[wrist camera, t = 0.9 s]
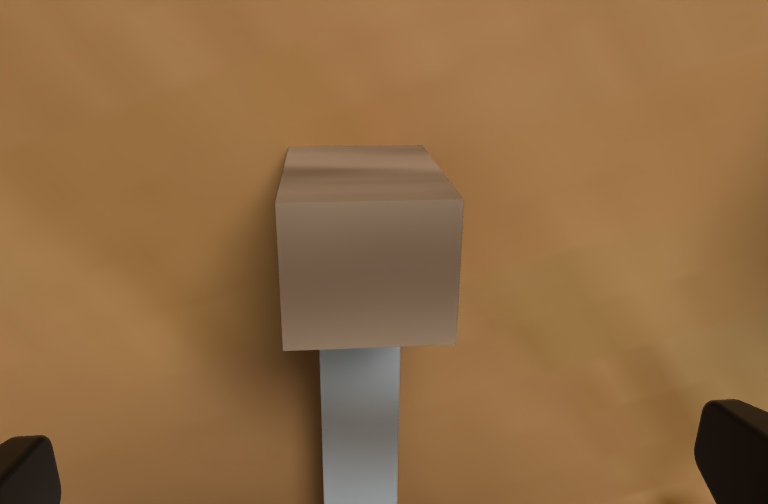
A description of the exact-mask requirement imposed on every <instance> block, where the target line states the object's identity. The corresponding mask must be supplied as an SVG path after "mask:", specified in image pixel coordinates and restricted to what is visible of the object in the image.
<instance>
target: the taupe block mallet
mask: <svg viewBox="0 0 768 504" xmlns="http://www.w3.org/2000/svg"><path fill="white" fill-rule="evenodd" d="M275 211H276V230H277V249H278V268H279V286H280V305H281V324H282V343H283V351H297V350H319V352H320V385H321V418H322V451H323V484H324V504H397V482H398V433H399V385H400V347H404V346H430V345H456V338H457V320H458V302H459V284H460V266H461V248H462V230H463V211H464V199H463V198H462V196H461V195H460V194H459V192H458V191H457V190H456V188H455V187H454V186H453V185H452V183H451V182H450V181H449V179H448V178H447V177H446V176H445V174H444V173H443V172H442V170H441V169H440V168H439V167H438V165H437V164H436V163H435V161H434V160H433V159H432V157H431V156H430V155H429V154H428V152H427V151H426V150H425V148H424V147H423V146H322V147H289V148H288V152H287V156H286V160H285V164H284V168H283V173H282V177H281V181H280V185H279V189H278V193H277V197H276V201H275Z"/></svg>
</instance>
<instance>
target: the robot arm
mask: <svg viewBox="0 0 768 504" xmlns="http://www.w3.org/2000/svg"><path fill="white" fill-rule="evenodd" d="M694 455H695V460H696V464H697V466H698V468H699V470H700V472H701V474H702V476H703V478H704V480H705V482H706V484H707V486H708V488H709V490H710V492H711V494H712V496H713V498H714V500H715V502H716V504H768V412H766V411H764V410H761V409H759V408H757V407H754V406H752V405H750V404H747V403H745V402H742V401H740V400H736V399H726V400H711V401H709V402H707V403H706V404H705V405H704V407H703V410H702V414H701V419H700V423H699V428H698V433H697V437H696V442H695V447H694ZM60 500H61V484H60V479H59V474H58V470H57V465H56V461H55V456H54V452H53V447H52V444H51V441H50V440H49V438H47V437H46V436H44V435H36V436H17V437H13V438H10V439H9V440H7V441H5V442H4V443H2V444H0V504H60Z"/></svg>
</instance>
